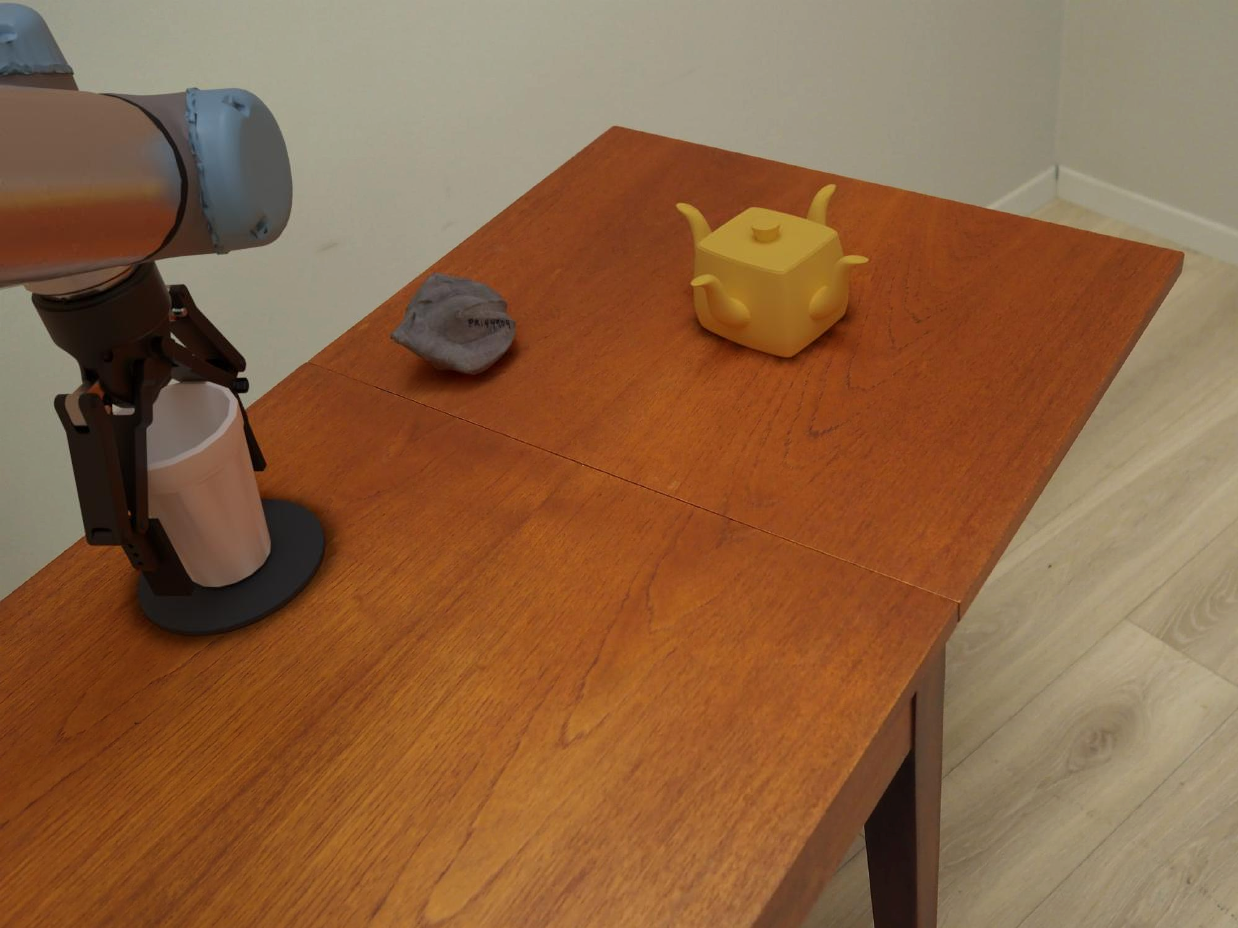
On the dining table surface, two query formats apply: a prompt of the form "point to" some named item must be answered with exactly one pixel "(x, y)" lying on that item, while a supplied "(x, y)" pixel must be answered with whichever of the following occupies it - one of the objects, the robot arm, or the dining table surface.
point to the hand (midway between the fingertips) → (214, 527)
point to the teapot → (770, 276)
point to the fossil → (456, 324)
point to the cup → (205, 483)
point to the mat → (247, 579)
